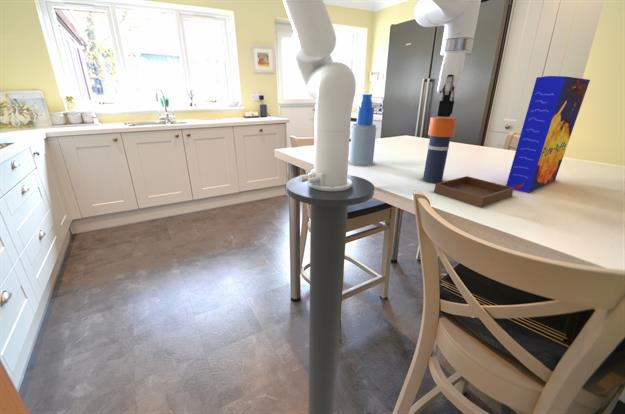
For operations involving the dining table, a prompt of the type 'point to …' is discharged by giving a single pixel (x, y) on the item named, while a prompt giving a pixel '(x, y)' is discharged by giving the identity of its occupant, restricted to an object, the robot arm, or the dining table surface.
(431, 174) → the spray can
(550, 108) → the cereal box
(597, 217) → the dining table surface
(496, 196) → the tray
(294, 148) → the dining table surface
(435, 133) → the cap
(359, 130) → the grey and blue bottle
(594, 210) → the dining table surface
